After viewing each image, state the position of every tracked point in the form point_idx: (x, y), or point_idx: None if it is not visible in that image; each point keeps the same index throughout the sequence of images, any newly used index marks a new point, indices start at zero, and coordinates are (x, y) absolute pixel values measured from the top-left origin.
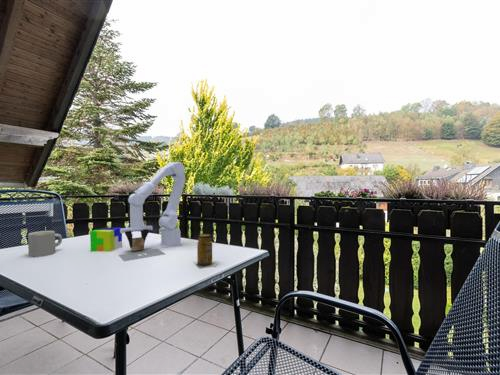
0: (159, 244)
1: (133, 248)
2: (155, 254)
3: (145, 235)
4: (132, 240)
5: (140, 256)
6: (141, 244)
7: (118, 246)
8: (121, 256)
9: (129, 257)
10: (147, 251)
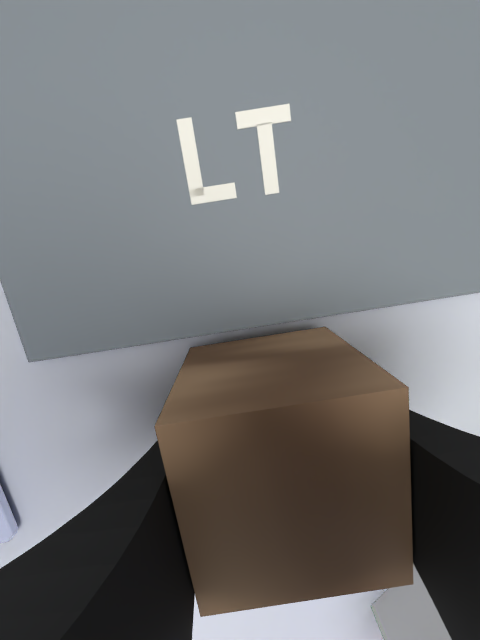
0: (1, 525)
1: (331, 335)
2: (60, 61)
3: (76, 542)
4: (404, 426)
5: (265, 60)
6: (219, 367)
7: (423, 588)
8: (471, 198)
9: (400, 88)
10: (156, 289)
